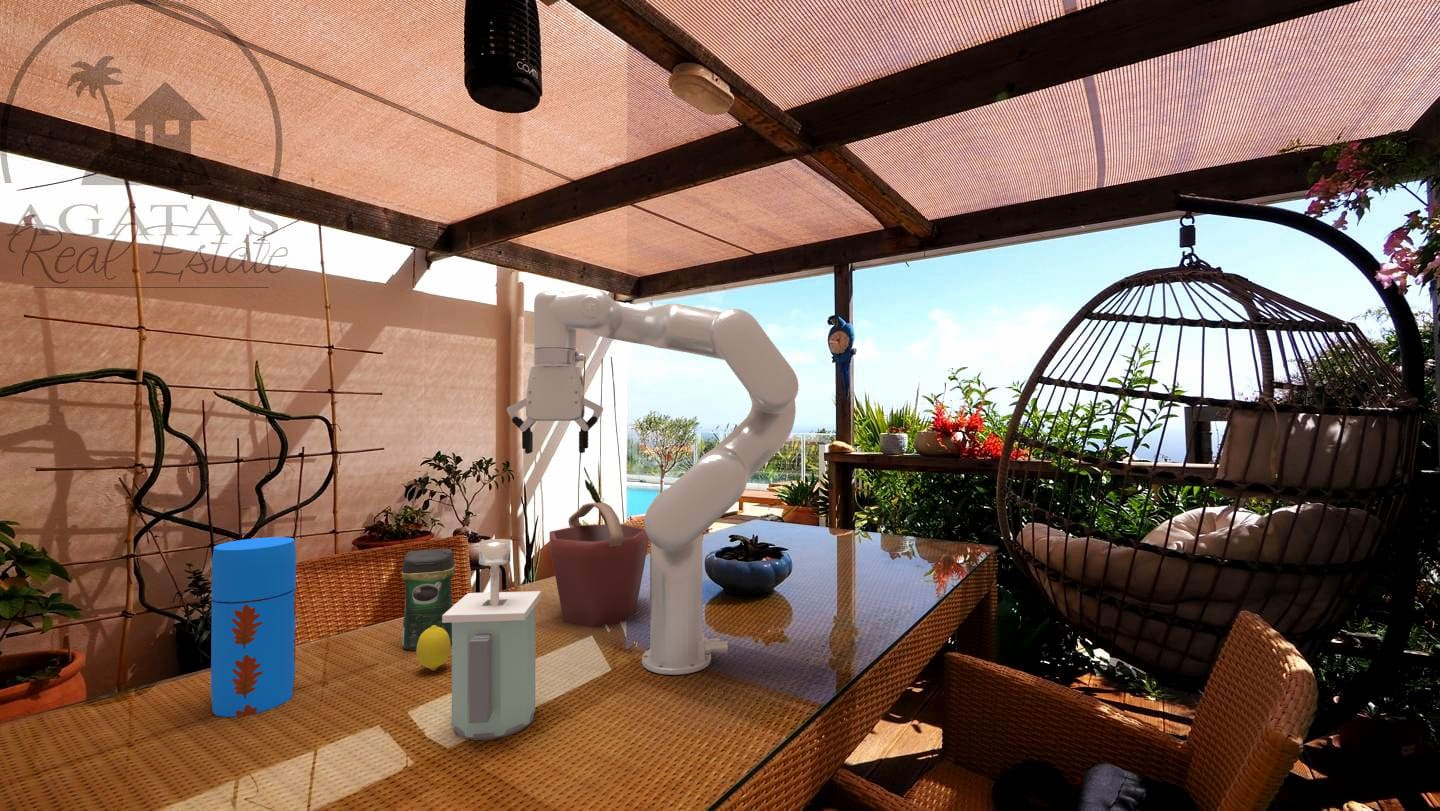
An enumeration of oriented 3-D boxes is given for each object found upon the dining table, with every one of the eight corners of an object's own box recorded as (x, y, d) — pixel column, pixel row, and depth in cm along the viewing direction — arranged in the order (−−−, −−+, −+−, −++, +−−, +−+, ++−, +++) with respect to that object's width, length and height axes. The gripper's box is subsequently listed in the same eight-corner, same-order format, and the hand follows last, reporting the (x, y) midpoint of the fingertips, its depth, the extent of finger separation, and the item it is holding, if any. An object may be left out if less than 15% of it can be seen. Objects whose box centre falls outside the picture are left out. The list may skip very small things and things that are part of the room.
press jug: (520, 747, 86) (520, 618, 86) (435, 750, 85) (435, 621, 86) (541, 702, 100) (541, 591, 100) (467, 705, 99) (468, 593, 99)
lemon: (437, 678, 109) (437, 631, 109) (409, 675, 110) (409, 629, 110) (457, 665, 115) (457, 621, 115) (429, 663, 116) (430, 619, 116)
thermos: (202, 723, 93) (203, 553, 94) (219, 695, 103) (220, 540, 103) (290, 707, 98) (291, 546, 99) (299, 682, 108) (300, 534, 108)
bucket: (548, 603, 153) (548, 499, 153) (639, 595, 159) (638, 495, 160) (553, 637, 129) (552, 514, 130) (659, 625, 136) (659, 508, 136)
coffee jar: (457, 634, 131) (457, 544, 131) (452, 647, 123) (452, 552, 124) (405, 639, 128) (406, 547, 129) (397, 653, 121) (398, 555, 121)
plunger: (528, 693, 98) (528, 536, 98) (515, 718, 90) (515, 546, 90) (475, 695, 97) (475, 537, 98) (457, 720, 89) (458, 547, 90)
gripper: (604, 361, 121) (605, 451, 121) (512, 361, 120) (512, 452, 120) (600, 358, 114) (601, 453, 113) (502, 358, 112) (502, 454, 112)
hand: (555, 452), depth 116 cm, fingers open, 9 cm apart
